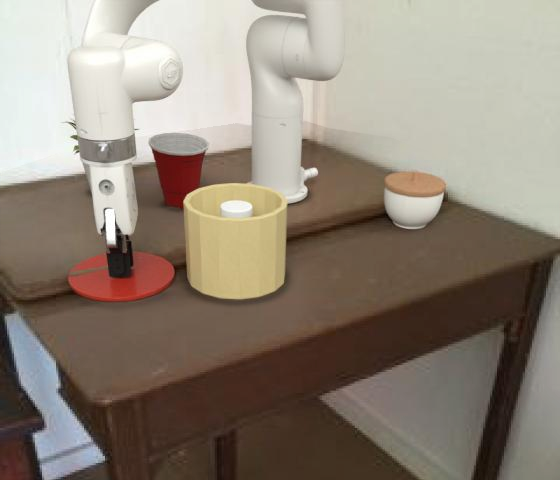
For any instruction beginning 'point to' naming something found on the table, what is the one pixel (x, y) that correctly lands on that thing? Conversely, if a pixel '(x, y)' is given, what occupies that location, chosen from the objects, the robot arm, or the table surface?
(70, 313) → the table surface
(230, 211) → the pill bottle
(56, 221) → the table surface
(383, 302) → the table surface
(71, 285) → the lid
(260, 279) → the tin
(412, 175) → the trinket box
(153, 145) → the plastic cup
